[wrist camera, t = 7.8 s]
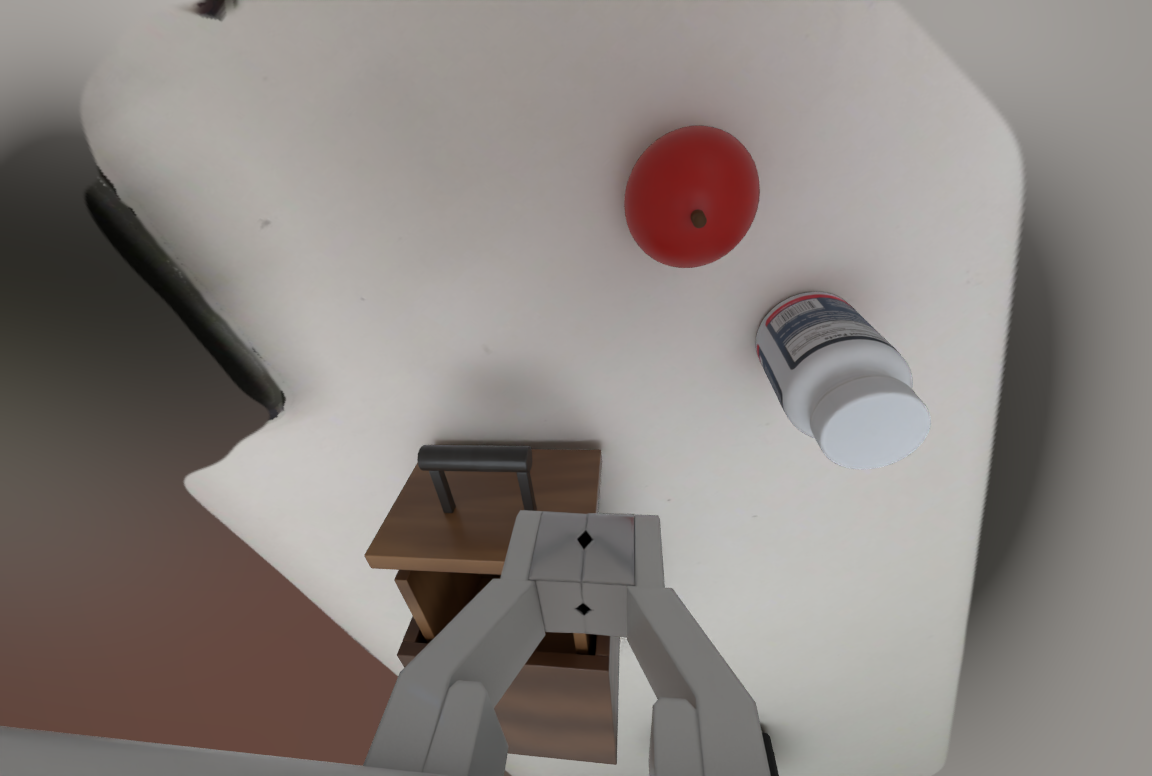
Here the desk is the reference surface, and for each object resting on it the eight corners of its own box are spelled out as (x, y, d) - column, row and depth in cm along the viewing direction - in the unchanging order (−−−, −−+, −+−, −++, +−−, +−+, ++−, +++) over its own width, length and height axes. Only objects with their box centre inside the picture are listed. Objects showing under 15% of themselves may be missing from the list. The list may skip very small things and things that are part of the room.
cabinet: (452, 521, 38) (396, 655, 29) (614, 526, 36) (609, 671, 27) (487, 621, 46) (453, 747, 38) (619, 629, 45) (616, 765, 36)
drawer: (405, 391, 29) (329, 493, 22) (597, 389, 27) (584, 500, 20) (469, 570, 40) (432, 679, 33) (609, 577, 38) (604, 693, 31)
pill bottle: (830, 379, 26) (905, 491, 19) (742, 367, 27) (783, 473, 19) (872, 295, 23) (982, 390, 16) (773, 282, 24) (836, 370, 16)
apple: (624, 126, 20) (620, 141, 15) (752, 115, 20) (797, 126, 14) (626, 249, 23) (624, 298, 18) (736, 244, 23) (769, 293, 17)
